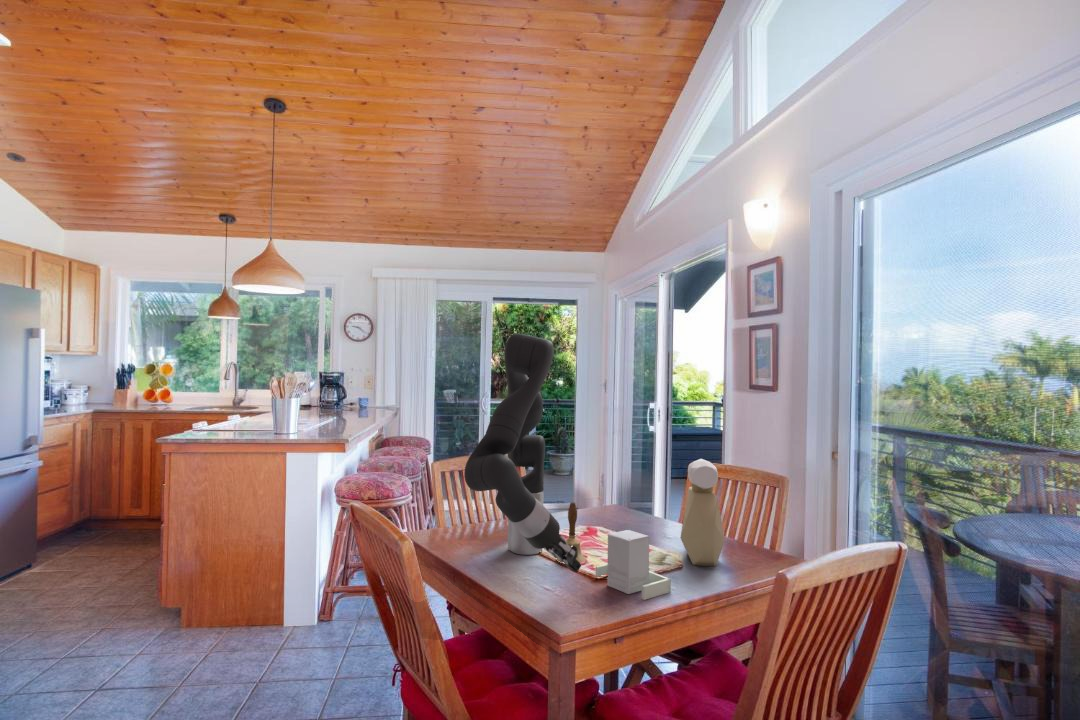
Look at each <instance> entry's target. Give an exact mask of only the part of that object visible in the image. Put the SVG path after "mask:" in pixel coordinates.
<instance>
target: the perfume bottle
mask: <svg viewBox="0 0 1080 720" xmlns="http://www.w3.org/2000/svg"><path fill="white" fill-rule="evenodd" d="M687 475H688V481H689V482H690V483H691V486H689V487H688V489H687V493H686V501H685V508H684V513H683V521H682V525H681V532H680V541H681V542H682V544H683V547H684V549H685V551H686V553H687V555H688V557H689V559H690V561H691V563H692V565H693V566H697V567H699V566H703V567H715V566H717V564H718V561H719V559H720V556H721V553H722V551H723V547H724V544H725V542H726V538H725V533H724V528H723V522H722V516H721V510H720V505H719V500H718V496H717V495H716V494H715V493H714V492H713V487H714V486H715V485H716V484H717V483H718V480H719V474H718V468H717V467H716V466H715V465H714V464H713V463H712V462H711V461H709V460H706V459H703V458H699V459H697V460H693V461H692V462H691V463H689V464H688V467H687Z"/></svg>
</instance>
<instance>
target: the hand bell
mask: <svg viewBox="0 0 1080 720" xmlns="http://www.w3.org/2000/svg"><path fill="white" fill-rule="evenodd" d="M576 505H577V504H576V502H573V501H572V502H570V503H569V507H568V510H567V521H568V525H569V527H568V528H569V529H568V538H566V539H565V541H566V543H567V544H568V545H569V546H570V547H571V546H575V547H576V548H577V551H578V556H577V558H576V559H577V561H578V562H579V563H581V562H584V561H585V560H586V561H587V559H586V558H585V556H584V555H583V554H582V549H581V542H580V540H578V539H577V538H576V523H577V520H578V509H577V506H576ZM557 560H558V561H560V560H559V559H558V558H557ZM560 562H561V561H560Z"/></svg>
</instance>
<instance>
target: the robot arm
mask: <svg viewBox="0 0 1080 720" xmlns="http://www.w3.org/2000/svg"><path fill="white" fill-rule="evenodd" d="M554 350H555V349H554V344H553V342H552V341H551V340H549V339H546V338H542V337H539V336H538V337H537V336H533V335H528V334H525V333H513V334H511V335H510V336H509V337H508V339H507V341H506V344H505V348H504V357H503V358H504V359H503V360H504V369H505V375H506V383H507V396H506V397H505V398H504V399H503V400H502V401H500V403H499V404H498V405H497V406H496V408H495V410H494V411H493V413H492V415H491V418H490V420H489V423H488V426H487V427H486V431H485V434H484V436H483V437H482V438H481V439H480V441H479V442H478V443H477V445H476V447H475V448H474V449H473V451H472V453H470V456H469V457H468V459H467V460H466V464H465V467H464V475H463V477H464V481H465V483H466V485H467V487H468V488H469V489H471V490H472V491H476V492H485V491H492V490H493V491H494V490H496V491H497V493H496V495H495V504H496V506H497V508H498V509H499V510H500V511H501V513H503V514H504V515H505V517H506V518H507V519H508V521H507V523H508V524H507V551H508V550H509V551H511V553H514V554H518V555H523V556H524V555H525V556H526V555H528V556H532V555H538V554H540V553H541V552H540V551H541V550H542V551H543V550H545V551H546V552H548V554H550V555H551V556H552V557H554V558H555V559H556V558H558V559H559V560H560V561H561V562H564V563H565V564H566V567H568V569H569V570H570V571H572V572H573V573H578V571H579V570H580V569H581V567H582V565H581V564H580V563H579V562H578V561H577V559H576V558H577V556H578V551H577V548H576V547H575V546H571V547H570V546H569V545H568V544H567V543H566V541H565V540H566V539H565V536H563V535H562V534H560V528H561V527H560V523H559V521H558V520H557V519H556V518H555V516H553V515H552V513H550V511H549V510H548V509H547V508H546V507H545V506H544V486H545V485H544V483H545V482H544V481H545V480H544V479H545V478H544V472H545V471H544V470H545V460H546V441H545V438H544V436H542V435H540V434H539V435H538V434H529V433H531V432H532V431H533V430H534V429H535V428H536V427H537V426H538V425H539V423H540V422H541V420H542V417H543V409H544V408H543V407H544V406H543V405H544V402H543V401H544V400H543V396H542V393H541V392H540V390H541V388H542V386H543V384H544V382H545V381H546V378H547V376H548V375H549V372H550V370H551V369H550V368H551V366H552V362H553V359H554ZM528 376H529V377H528ZM506 455H507V456H506ZM517 468H533V469H532V470H531V471H530V472H529V473H527V474H526V475H523V476H520V473H519V470H518V469H517ZM539 552H540V553H539Z"/></svg>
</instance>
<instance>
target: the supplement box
mask: <svg viewBox="0 0 1080 720" xmlns="http://www.w3.org/2000/svg"><path fill="white" fill-rule="evenodd" d="M607 564H608V577H607V579H606V580H607V587H610V588H612V589H614V590H618V591H620V592H622V593H624V594H627V595H631V594H634V593H638V592H642V586H643V585H646V584H649V571H650V536H649V535H647V534H643V533H641V532H637V531H633V530H630V529H625V530H620V531H615V532H612V533H608V534H607Z"/></svg>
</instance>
